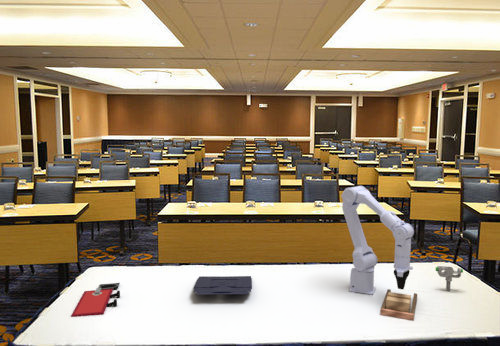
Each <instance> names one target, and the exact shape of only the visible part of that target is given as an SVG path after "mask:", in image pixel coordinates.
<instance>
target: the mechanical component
mask: <svg viewBox="0 0 500 346" xmlns="http://www.w3.org/2000/svg"><path fill="white" fill-rule="evenodd" d="M435 272H437V275H438V276H439V277H440V278H445V279H444V280H445V284H446V286H445V287H446V288H445V290H446V292H450V291H451V282H452V281H453V279H454V278H455V279H459V278H461V276H462V273H464V270H463V268H460V267H458V268H457V270H455V269H454V268H453V267H452V266H447V265H446V266H443V265H437V266H436V267H435Z"/></svg>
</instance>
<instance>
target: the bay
mask: <svg viewBox="0 0 500 346" xmlns="http://www.w3.org/2000/svg"><path fill="white" fill-rule="evenodd" d="M389 292H392V290H391V289H389V288H388V289H387V290H386V293H385V296H384V298H383V301H382V304H381V306H380V310H379V311H380V312H379V314H380V315H382V316H385V317H386V316H387V317H391V318H397V319H403V320H408V321H414V319H415V314H416V308H417V307H416V306H417V301H418V293H415V292H414V293H413V298H412V301H411V308H410V313H406V312H401V311H395V310H389V309H386V299H387V295H388V293H389Z"/></svg>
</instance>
